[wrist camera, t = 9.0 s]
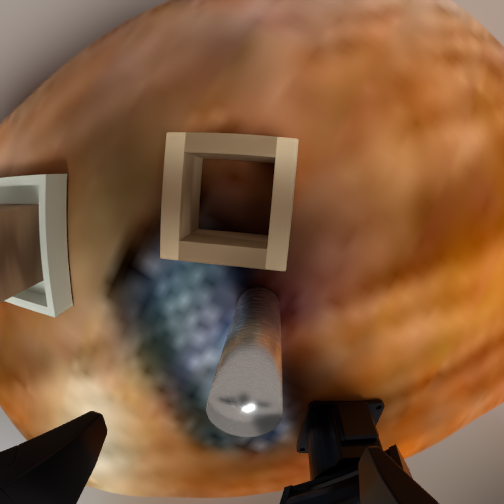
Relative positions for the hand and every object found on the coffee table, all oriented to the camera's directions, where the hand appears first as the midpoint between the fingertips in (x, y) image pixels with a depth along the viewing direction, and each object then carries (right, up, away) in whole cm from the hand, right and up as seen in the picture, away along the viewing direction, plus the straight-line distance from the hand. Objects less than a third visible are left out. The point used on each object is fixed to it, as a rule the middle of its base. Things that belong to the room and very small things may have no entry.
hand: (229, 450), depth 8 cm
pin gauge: (+1, +3, +12) cm, 12 cm away
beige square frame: (0, +10, +10) cm, 14 cm away
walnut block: (-18, +7, +11) cm, 23 cm away
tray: (-18, +8, +12) cm, 23 cm away
